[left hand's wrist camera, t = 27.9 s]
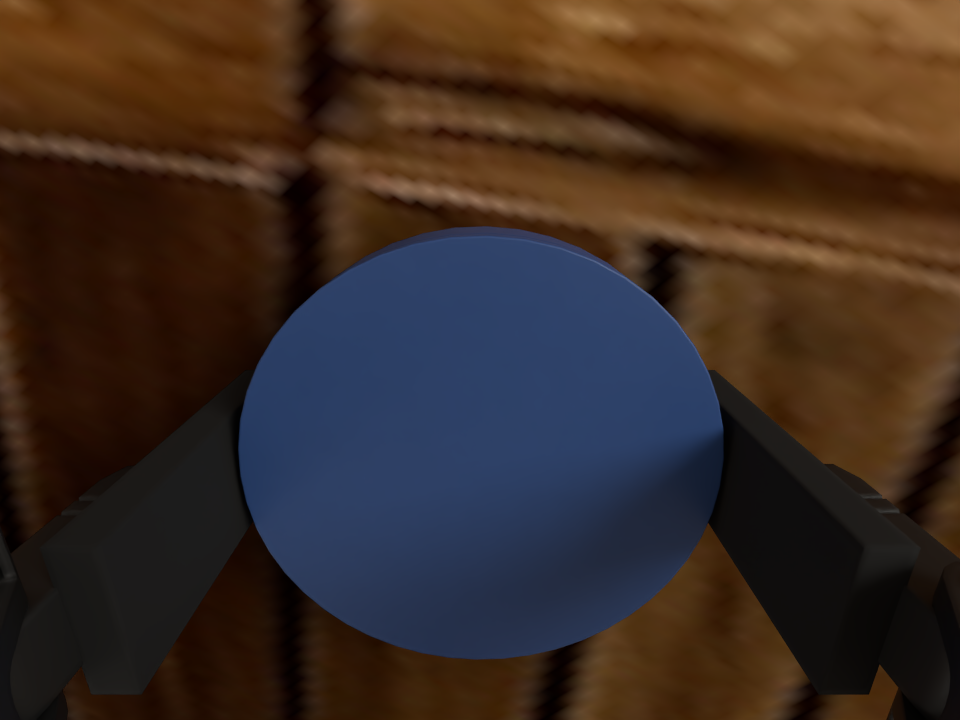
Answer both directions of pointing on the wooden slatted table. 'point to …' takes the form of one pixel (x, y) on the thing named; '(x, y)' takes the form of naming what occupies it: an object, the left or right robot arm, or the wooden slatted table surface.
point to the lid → (481, 445)
